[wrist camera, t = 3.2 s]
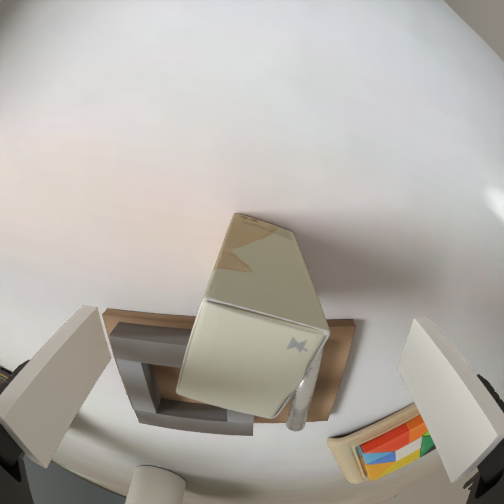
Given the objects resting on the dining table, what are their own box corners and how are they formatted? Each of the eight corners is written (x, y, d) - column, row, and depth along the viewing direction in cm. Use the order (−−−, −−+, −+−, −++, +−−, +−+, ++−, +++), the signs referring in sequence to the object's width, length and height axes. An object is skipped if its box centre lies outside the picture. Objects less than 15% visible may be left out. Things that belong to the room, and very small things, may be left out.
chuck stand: (107, 308, 21) (91, 327, 18) (352, 319, 21) (363, 341, 18) (135, 402, 25) (127, 422, 22) (325, 413, 25) (330, 435, 22)
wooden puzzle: (451, 431, 30) (458, 446, 26) (346, 477, 32) (349, 493, 29) (463, 369, 24) (477, 387, 21) (323, 433, 27) (327, 457, 24)
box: (234, 210, 18) (204, 287, 8) (296, 232, 19) (339, 327, 8) (211, 280, 20) (172, 398, 10) (268, 298, 20) (275, 424, 10)
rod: (298, 338, 20) (301, 353, 19) (321, 337, 20) (326, 352, 19) (285, 417, 24) (286, 431, 22) (303, 416, 24) (305, 430, 22)
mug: (133, 456, 30) (117, 503, 22) (194, 475, 31) (186, 524, 22) (132, 479, 34) (120, 517, 25) (182, 494, 35) (175, 533, 26)
